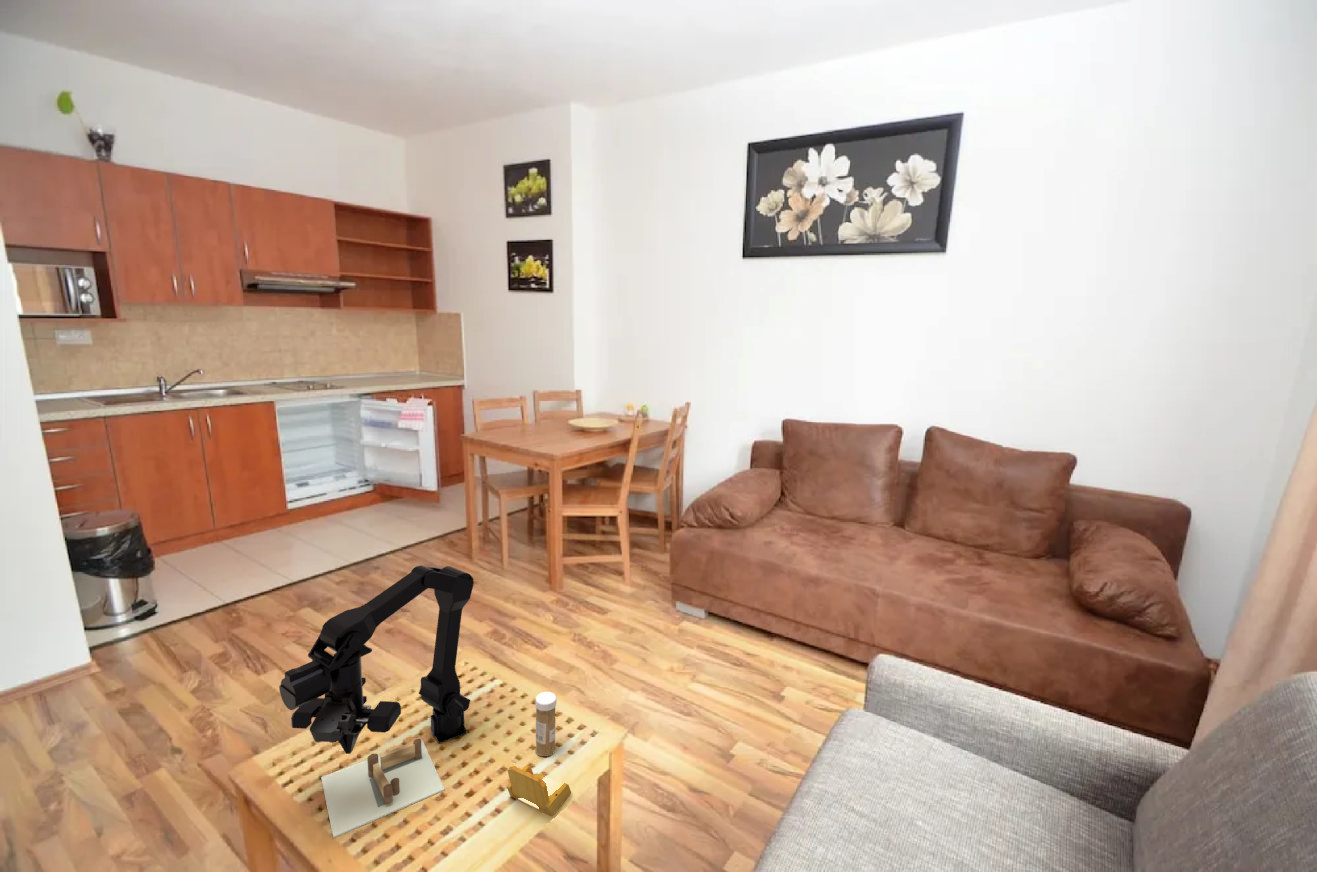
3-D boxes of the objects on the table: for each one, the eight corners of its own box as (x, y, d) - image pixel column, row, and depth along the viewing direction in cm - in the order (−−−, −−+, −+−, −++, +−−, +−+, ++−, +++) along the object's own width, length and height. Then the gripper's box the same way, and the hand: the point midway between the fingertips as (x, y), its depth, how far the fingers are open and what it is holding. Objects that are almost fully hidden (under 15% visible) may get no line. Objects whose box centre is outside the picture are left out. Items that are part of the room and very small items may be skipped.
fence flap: (372, 778, 118) (371, 764, 117) (380, 774, 119) (379, 761, 118) (385, 805, 111) (384, 791, 111) (394, 801, 112) (393, 787, 112)
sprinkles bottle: (558, 753, 128) (559, 699, 126) (539, 760, 126) (540, 706, 123) (550, 740, 132) (551, 688, 130) (532, 747, 130) (532, 694, 127)
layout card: (422, 740, 130) (422, 739, 130) (444, 790, 117) (444, 788, 117) (321, 778, 118) (321, 776, 118) (333, 838, 105) (333, 836, 105)
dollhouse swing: (573, 791, 118) (574, 752, 117) (545, 825, 110) (545, 784, 108) (532, 772, 123) (533, 734, 121) (502, 804, 114) (502, 763, 113)
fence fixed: (420, 753, 126) (419, 736, 125) (432, 781, 119) (431, 762, 118) (367, 774, 120) (366, 755, 119) (376, 804, 113) (375, 785, 112)
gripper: (268, 706, 102) (275, 781, 105) (372, 711, 102) (376, 786, 105) (306, 669, 113) (311, 739, 116) (400, 674, 113) (403, 743, 116)
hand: (349, 752), depth 113 cm, fingers closed
